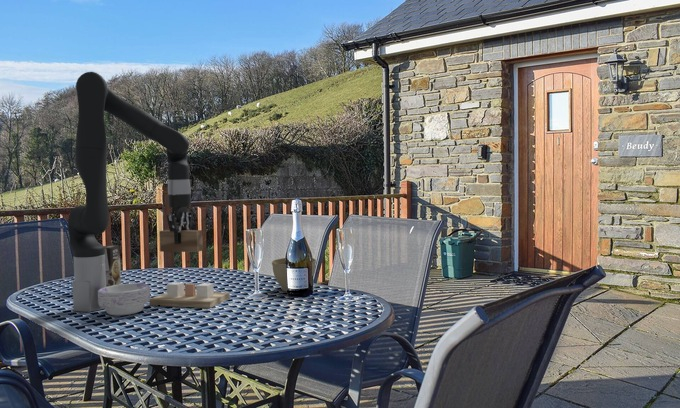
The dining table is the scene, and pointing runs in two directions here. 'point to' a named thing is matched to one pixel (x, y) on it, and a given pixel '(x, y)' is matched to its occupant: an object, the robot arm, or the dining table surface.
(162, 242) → the walnut bar
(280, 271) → the planter bowl
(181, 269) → the dining table surface
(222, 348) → the dining table surface
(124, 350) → the dining table surface
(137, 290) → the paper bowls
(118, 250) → the coffee box
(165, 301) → the display stand
